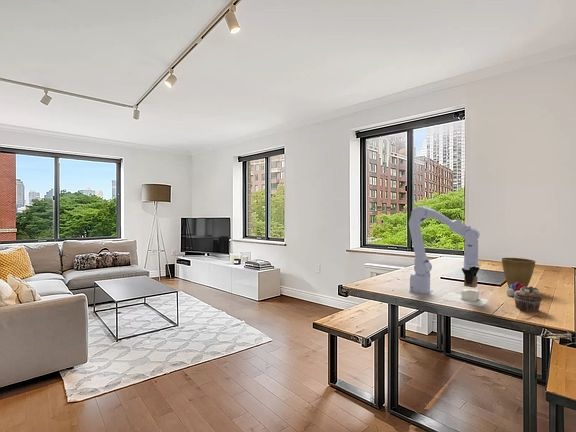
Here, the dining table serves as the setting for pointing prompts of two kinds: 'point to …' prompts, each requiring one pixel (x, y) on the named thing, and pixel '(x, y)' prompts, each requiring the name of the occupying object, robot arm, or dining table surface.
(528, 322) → the dining table surface
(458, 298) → the felt mat
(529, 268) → the plant pot
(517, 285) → the multicoloured rounded cluster
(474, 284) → the walnut cube
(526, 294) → the cupcake
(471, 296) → the base block
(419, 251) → the robot arm
